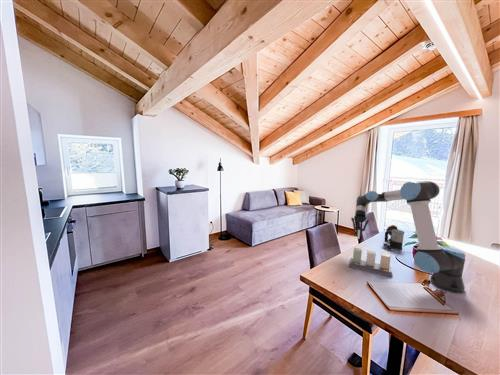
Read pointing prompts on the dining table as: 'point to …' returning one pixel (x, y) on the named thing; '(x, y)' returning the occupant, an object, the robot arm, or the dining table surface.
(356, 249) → the key sage
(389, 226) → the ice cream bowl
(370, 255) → the cream upright block
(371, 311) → the dining table surface
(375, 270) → the grey tray
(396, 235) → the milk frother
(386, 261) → the beige tall block
